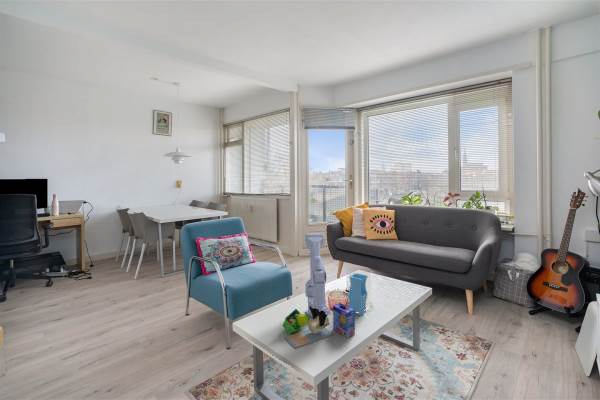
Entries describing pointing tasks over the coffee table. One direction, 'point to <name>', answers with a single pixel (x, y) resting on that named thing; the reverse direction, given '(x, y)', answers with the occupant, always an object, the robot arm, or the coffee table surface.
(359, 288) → the vase
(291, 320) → the fruit basket
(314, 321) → the tan rectangular block
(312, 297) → the robot arm
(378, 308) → the coffee table surface
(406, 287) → the coffee table surface
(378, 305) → the coffee table surface
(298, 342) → the mat
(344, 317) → the ink cartridge box
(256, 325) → the coffee table surface
